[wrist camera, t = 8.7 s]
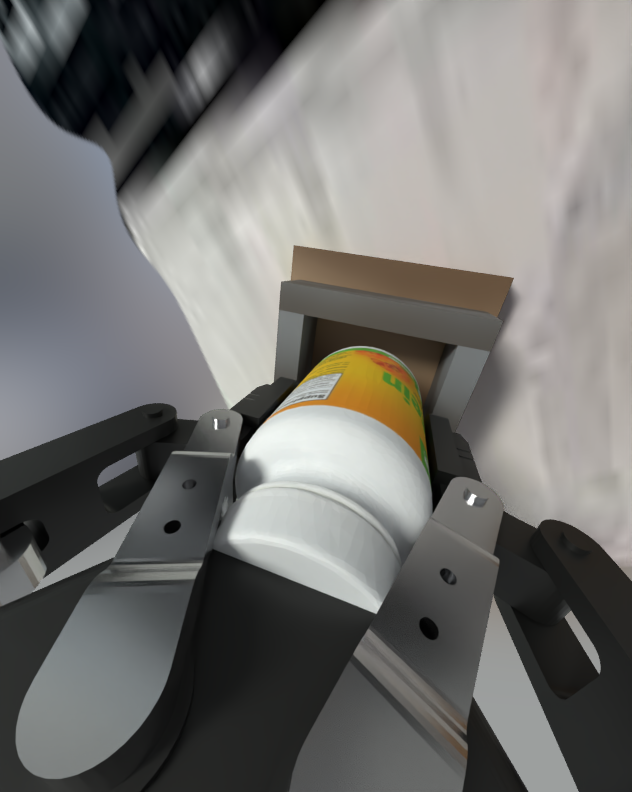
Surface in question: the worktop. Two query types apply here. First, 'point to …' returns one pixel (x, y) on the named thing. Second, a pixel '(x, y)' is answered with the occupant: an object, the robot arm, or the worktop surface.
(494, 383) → the worktop surface
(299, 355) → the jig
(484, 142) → the worktop surface
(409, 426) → the supplement bottle
